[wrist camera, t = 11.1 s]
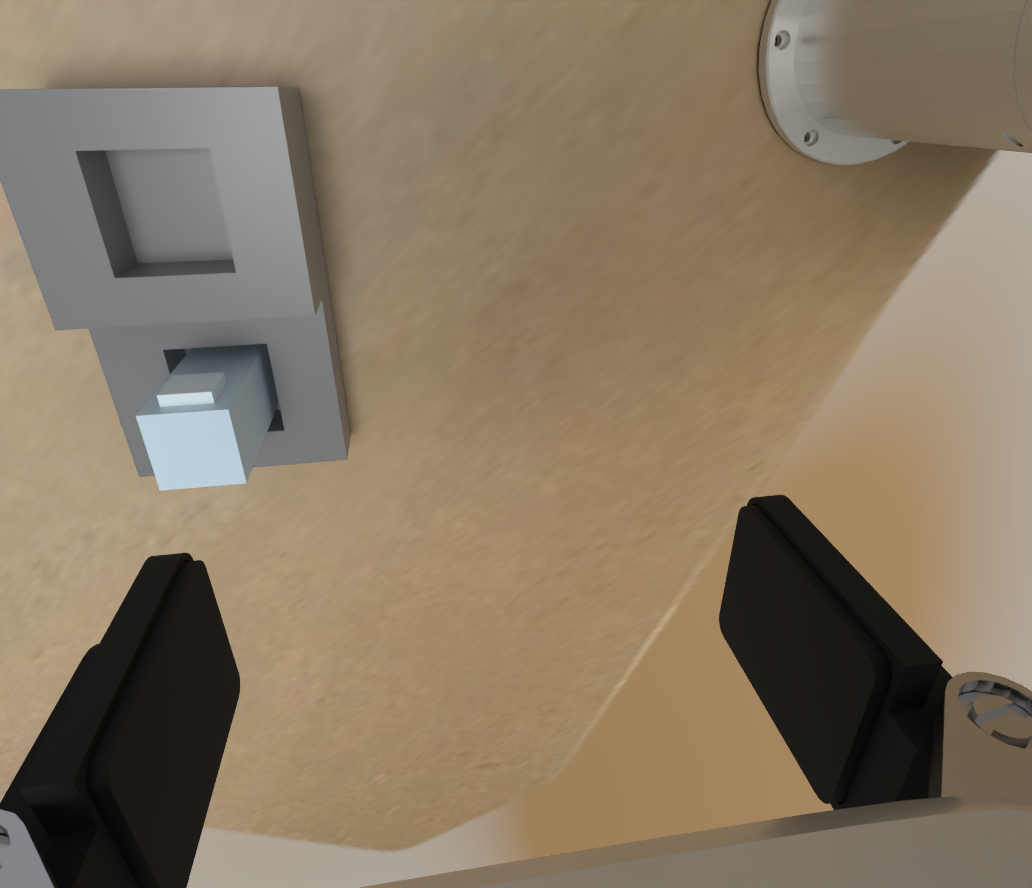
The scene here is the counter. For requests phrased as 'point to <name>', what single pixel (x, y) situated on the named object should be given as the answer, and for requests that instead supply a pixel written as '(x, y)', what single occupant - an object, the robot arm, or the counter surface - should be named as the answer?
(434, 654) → the counter surface
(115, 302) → the socket panel
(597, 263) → the counter surface
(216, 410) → the plug
